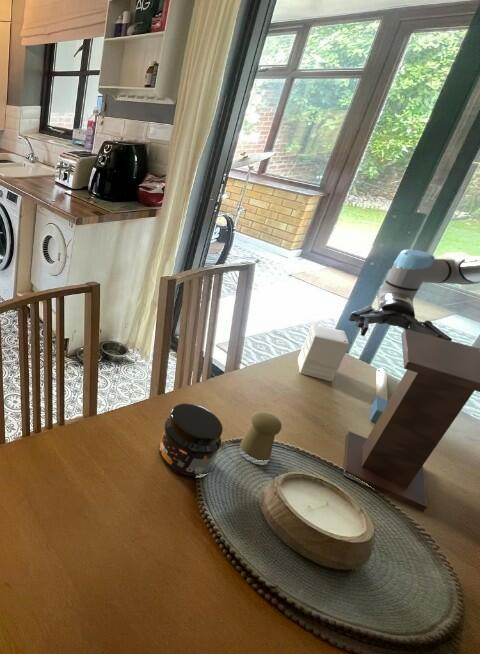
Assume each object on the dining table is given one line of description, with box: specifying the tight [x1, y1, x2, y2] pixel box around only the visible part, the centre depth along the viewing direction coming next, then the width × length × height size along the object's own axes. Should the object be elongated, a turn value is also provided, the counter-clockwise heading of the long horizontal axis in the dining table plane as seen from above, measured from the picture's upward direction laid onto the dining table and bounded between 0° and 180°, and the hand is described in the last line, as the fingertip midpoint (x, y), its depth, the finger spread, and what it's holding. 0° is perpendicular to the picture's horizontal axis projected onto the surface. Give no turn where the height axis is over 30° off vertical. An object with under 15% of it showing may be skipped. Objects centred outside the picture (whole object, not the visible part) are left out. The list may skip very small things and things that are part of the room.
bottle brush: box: [369, 368, 389, 424], centre depth 105 cm, size 4×25×4 cm, turn 138°
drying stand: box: [342, 329, 480, 513], centre depth 80 cm, size 12×14×30 cm
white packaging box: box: [297, 323, 350, 383], centre depth 113 cm, size 7×7×13 cm
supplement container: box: [158, 403, 224, 480], centre depth 87 cm, size 10×10×12 cm
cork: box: [239, 410, 282, 461], centre depth 88 cm, size 6×6×11 cm
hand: (398, 341), depth 109 cm, fingers open, 13 cm apart
